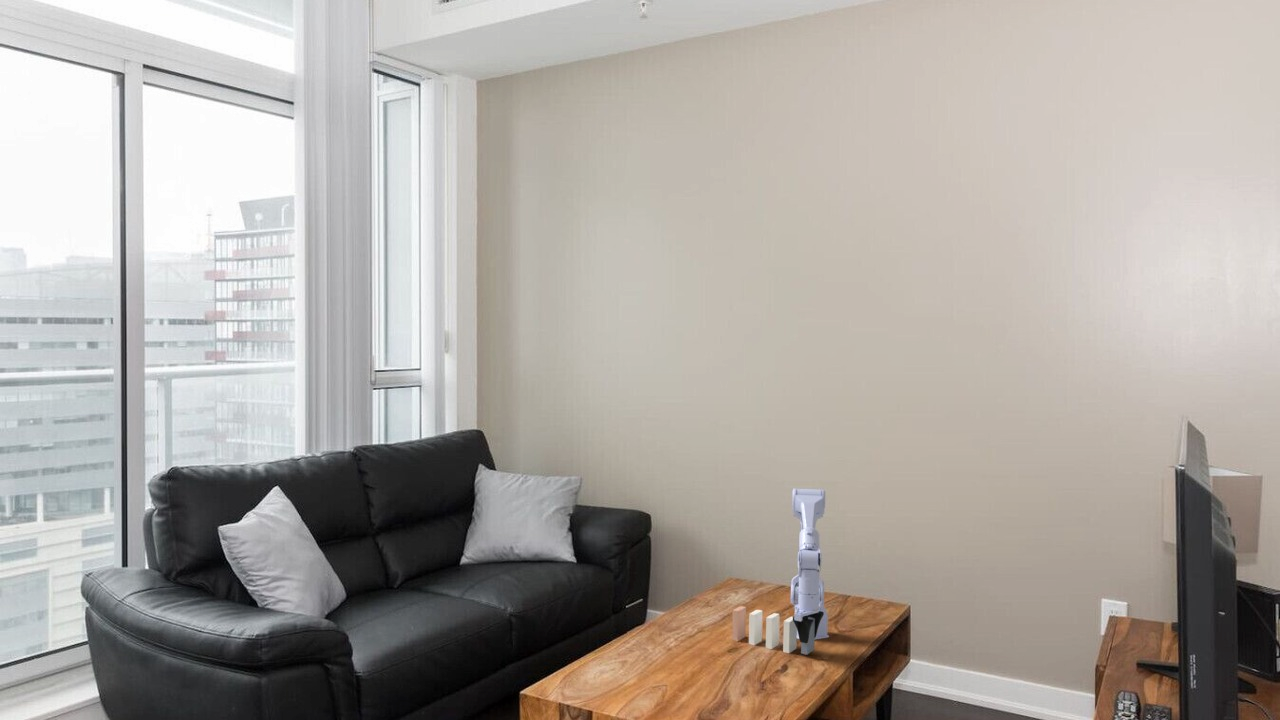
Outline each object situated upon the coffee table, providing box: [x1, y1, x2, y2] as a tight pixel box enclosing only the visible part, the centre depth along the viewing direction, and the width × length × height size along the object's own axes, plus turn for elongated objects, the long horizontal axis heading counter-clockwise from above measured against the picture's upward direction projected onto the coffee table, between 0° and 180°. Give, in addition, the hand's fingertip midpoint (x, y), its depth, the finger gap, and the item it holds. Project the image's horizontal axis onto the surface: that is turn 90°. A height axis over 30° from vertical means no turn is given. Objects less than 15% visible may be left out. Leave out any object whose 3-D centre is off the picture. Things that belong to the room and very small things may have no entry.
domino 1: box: [731, 605, 747, 643], centre depth 276 cm, size 2×5×9 cm, turn 146°
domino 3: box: [765, 612, 781, 650], centre depth 270 cm, size 2×5×9 cm, turn 146°
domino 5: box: [800, 617, 815, 656], centre depth 263 cm, size 2×5×9 cm, turn 146°
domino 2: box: [748, 609, 764, 646], centre depth 273 cm, size 2×5×9 cm, turn 146°
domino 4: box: [782, 616, 798, 654], centre depth 266 cm, size 2×5×9 cm, turn 146°
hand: (807, 639), depth 263 cm, fingers closed on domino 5, 5 cm apart
